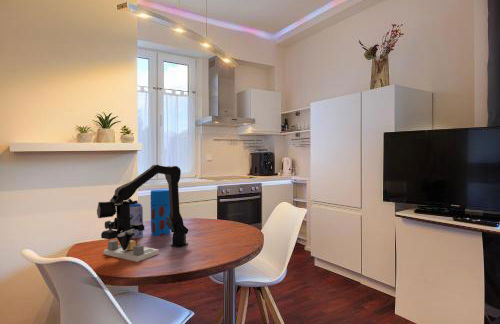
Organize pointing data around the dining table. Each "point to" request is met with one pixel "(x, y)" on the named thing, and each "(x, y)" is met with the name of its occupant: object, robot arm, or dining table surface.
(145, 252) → the breaker panel
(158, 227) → the tall blue box
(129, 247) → the handle
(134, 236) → the aerosol can
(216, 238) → the dining table surface
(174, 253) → the dining table surface
